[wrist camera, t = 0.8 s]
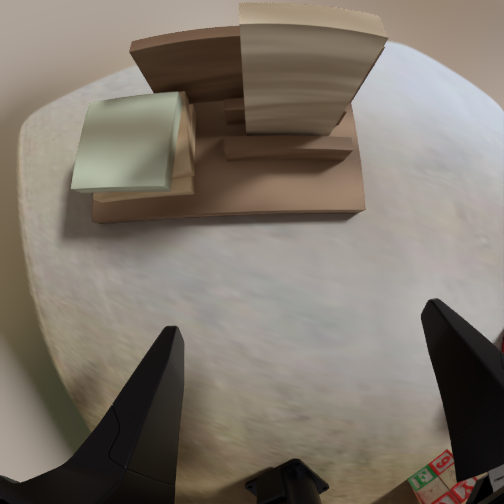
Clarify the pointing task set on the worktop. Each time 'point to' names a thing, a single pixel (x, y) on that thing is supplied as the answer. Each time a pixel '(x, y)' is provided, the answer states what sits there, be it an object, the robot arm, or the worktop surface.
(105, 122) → the offcut stack
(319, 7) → the birch board
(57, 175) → the worktop surface
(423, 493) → the stack of blocks
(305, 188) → the offcut rack
